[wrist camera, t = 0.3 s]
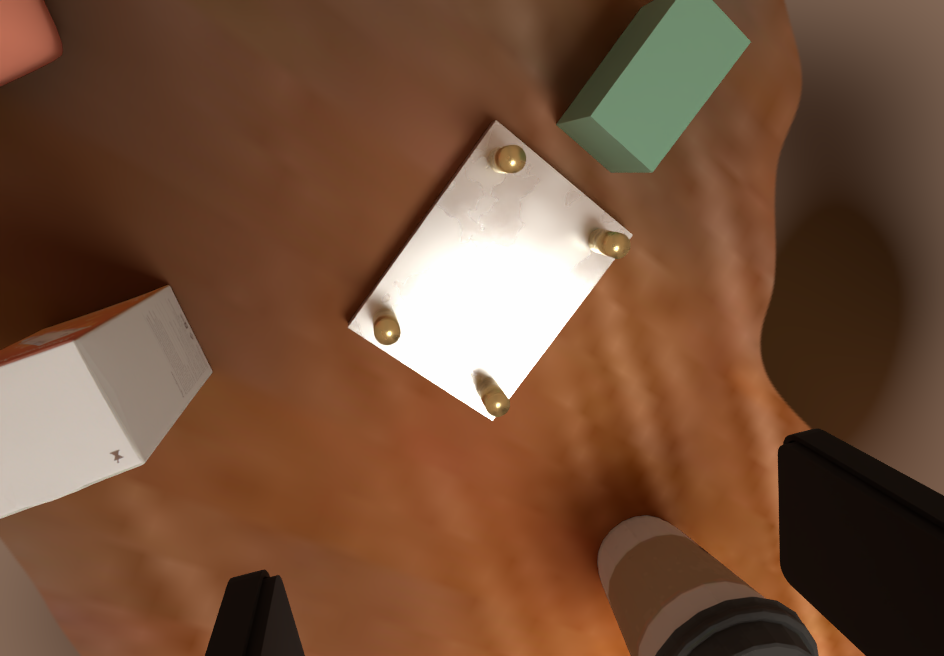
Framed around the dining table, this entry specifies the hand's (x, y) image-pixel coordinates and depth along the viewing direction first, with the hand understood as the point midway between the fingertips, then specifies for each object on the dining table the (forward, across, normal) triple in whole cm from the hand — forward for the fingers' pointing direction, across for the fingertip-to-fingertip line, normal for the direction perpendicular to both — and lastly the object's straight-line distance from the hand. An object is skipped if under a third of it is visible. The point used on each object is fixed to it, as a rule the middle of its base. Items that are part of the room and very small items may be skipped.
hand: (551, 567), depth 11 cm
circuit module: (+30, -16, -10) cm, 36 cm away
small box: (+30, +18, +1) cm, 35 cm away
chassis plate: (+30, -6, +1) cm, 31 cm away
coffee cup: (+30, -14, +26) cm, 42 cm away
